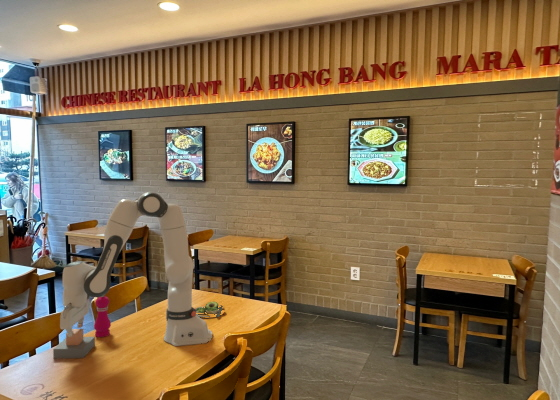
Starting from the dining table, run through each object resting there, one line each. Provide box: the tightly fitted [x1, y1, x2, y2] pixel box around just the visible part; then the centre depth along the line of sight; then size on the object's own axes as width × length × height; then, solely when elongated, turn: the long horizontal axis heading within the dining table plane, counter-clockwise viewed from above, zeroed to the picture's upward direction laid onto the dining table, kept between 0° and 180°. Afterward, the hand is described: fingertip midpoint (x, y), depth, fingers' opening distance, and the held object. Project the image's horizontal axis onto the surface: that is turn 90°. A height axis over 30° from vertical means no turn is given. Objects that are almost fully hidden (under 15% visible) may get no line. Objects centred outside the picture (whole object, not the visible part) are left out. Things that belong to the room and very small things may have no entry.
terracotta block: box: [65, 328, 84, 345], centre depth 165 cm, size 5×5×5 cm
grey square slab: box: [52, 336, 96, 359], centre depth 166 cm, size 12×12×4 cm
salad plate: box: [195, 301, 224, 318], centre depth 216 cm, size 19×18×5 cm
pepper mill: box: [93, 295, 112, 338], centre depth 184 cm, size 7×7×20 cm
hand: (75, 331), depth 165 cm, fingers open, 8 cm apart
